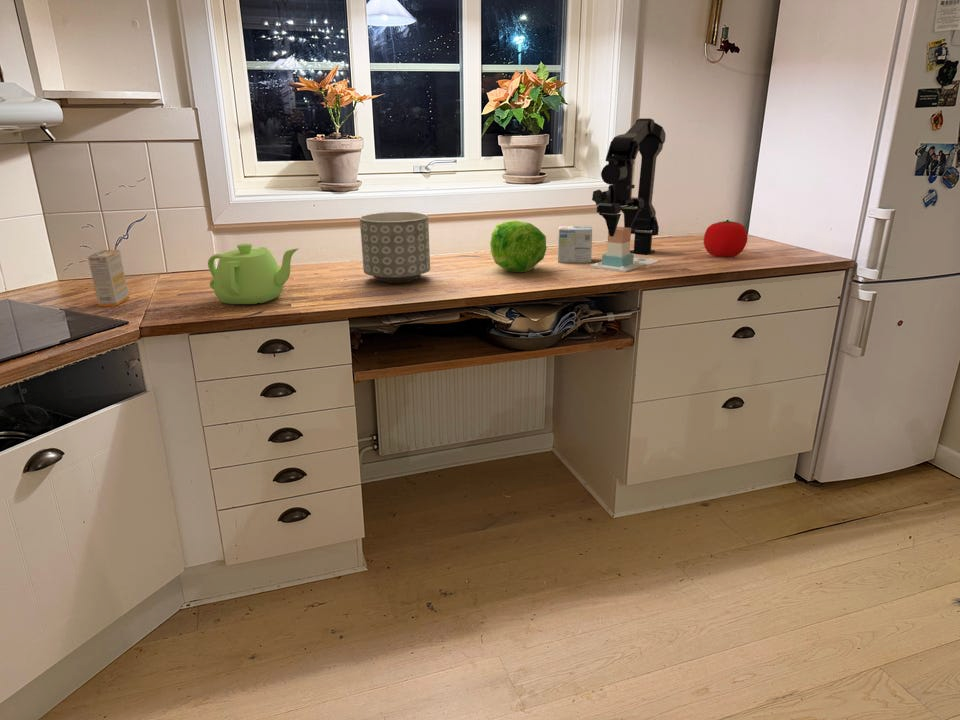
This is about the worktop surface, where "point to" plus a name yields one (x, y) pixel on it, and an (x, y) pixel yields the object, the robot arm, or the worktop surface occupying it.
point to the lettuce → (517, 246)
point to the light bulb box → (575, 244)
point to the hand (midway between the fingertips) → (619, 234)
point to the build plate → (623, 269)
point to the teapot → (249, 275)
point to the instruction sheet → (644, 261)
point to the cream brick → (618, 249)
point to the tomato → (725, 239)
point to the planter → (395, 245)
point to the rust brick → (620, 235)
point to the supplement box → (108, 277)
